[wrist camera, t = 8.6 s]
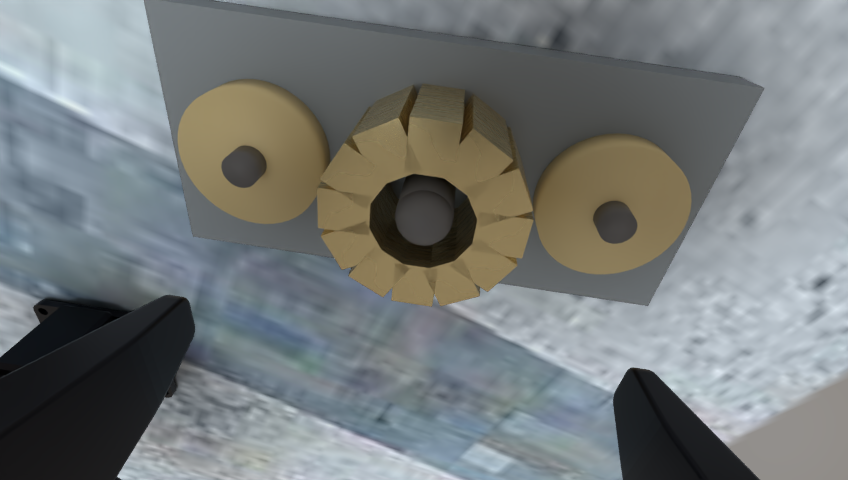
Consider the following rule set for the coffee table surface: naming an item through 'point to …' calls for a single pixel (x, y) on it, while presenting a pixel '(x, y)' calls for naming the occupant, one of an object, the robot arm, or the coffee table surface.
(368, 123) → the brass gear
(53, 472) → the robot arm
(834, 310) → the coffee table surface
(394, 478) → the coffee table surface
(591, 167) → the gear board
